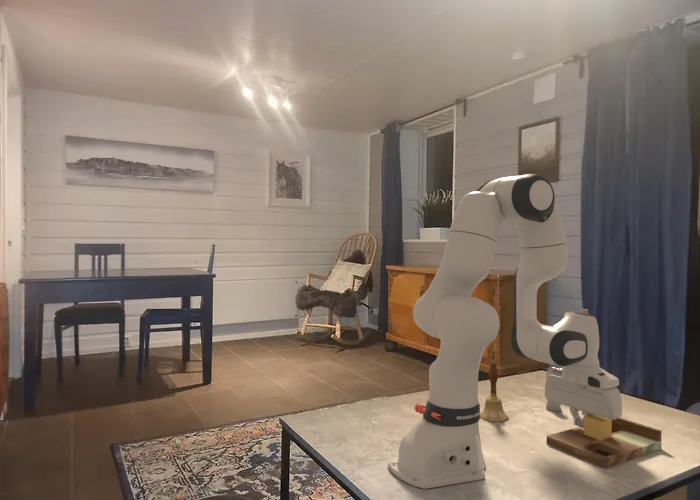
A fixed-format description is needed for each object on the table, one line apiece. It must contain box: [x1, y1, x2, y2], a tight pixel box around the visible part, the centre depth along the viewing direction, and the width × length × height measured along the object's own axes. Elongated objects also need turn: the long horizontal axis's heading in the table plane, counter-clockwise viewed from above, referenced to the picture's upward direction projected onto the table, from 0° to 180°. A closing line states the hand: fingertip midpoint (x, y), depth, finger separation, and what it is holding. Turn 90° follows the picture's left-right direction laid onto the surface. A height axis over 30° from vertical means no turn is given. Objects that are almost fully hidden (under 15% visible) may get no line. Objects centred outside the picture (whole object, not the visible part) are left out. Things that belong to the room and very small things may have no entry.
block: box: [583, 414, 612, 440], centre depth 123 cm, size 4×4×4 cm
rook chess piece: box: [545, 399, 562, 412], centre depth 150 cm, size 4×4×8 cm
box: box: [546, 417, 663, 469], centre depth 121 cm, size 22×16×4 cm
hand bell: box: [480, 362, 510, 423], centre depth 143 cm, size 8×8×16 cm
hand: (580, 426), depth 127 cm, fingers closed
